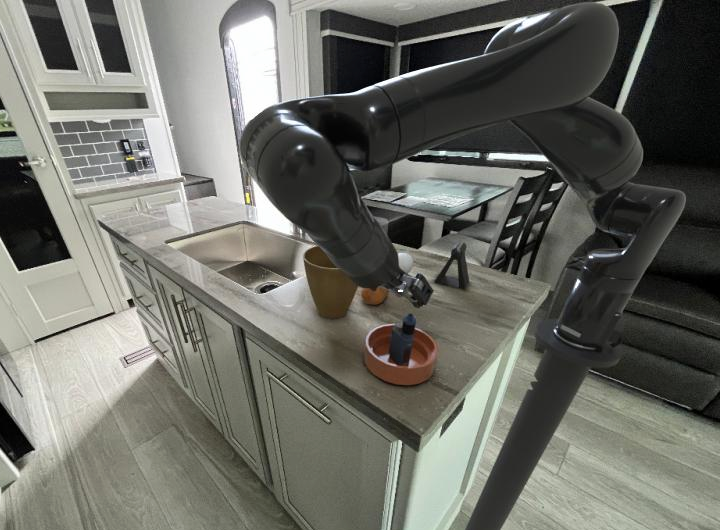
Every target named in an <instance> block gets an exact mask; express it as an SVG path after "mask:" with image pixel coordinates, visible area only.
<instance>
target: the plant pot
mask: <svg viewBox="0 0 720 530" xmlns="http://www.w3.org/2000/svg"><path fill="white" fill-rule="evenodd" d="M302 259H303V266H304V271H305V276H306V281H307V284H308V288H309V291H310V294H311V297H312V300H313V303H314V305H315V307H316V310H317V312H318V314H319V315H320V316H321V317H323V318H324V319H329V320H336V319H341V318H343V317H345V316H346V314H347V312H348V311H349V309H350V306H351V305H352V302H353V300H354V298H355V295H356V293H357V290H358V288H359V286H357V285H356V284H354V283H353V282H352V281H351V280H350V279H349V278H348V277H347V276H346V275H345V274H344V273H343V272H342V271H341V270H340V269H339V268H338V267H336V266H335V265H334V263H333V262H332V261H331V260H330V259H329V257H328V256H327V254H326V253H325V252H324V251H323V250H322V249H321V248H320V247H319V246H318V245H315V246H311V247H309V248H308V249H306V250H305V251H304V252H303V253H302Z"/></svg>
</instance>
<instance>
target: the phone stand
mask: <svg viewBox="0 0 720 530" xmlns="http://www.w3.org/2000/svg"><path fill="white" fill-rule="evenodd" d="M460 244H461V241H459V242H457V243H456V244H455V245H454V247H453V248H452V250H451V252H450V257H449V259H447V262H446V263H445V265H444V266H443V268H442V269H441V271H440V272H439V274H438V275H437V277H436V278H435V280H434V284H437V285H441V286H446V287H450V288H455V289H460V290H463V291H465V290H466V288H467V286H468V284H469V282H470V277H469V271H468V266H467V265H468V264H467V259H466V250H467V244H466V242H462V244H461V246H460ZM458 247H460V248H459V249H458ZM453 261H456V263H457V277H452V276H448V275H447V273H448V271H449V270H450V268H451V266H452V264H453Z"/></svg>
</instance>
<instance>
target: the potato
mask: <svg viewBox="0 0 720 530" xmlns="http://www.w3.org/2000/svg"><path fill="white" fill-rule="evenodd" d="M390 293H391V292H390V291H388V290H386V289H382V288H380V287H377V289H376V291H375V292H374V291H371V290H370V289H369V288H362V287H361V293H360V295H361V299H362V301H363V302H364V303H365V304H368V305H373V306H375V305H380V304H381V303H382V302H384V301H385V300H386V298H387V296H388V295H389V294H390Z"/></svg>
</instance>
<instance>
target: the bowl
mask: <svg viewBox="0 0 720 530" xmlns="http://www.w3.org/2000/svg"><path fill="white" fill-rule="evenodd" d="M394 326H395V323H386V324H382V325H379V326H376V327H373V328H372V329H371V330H370V331H369V332H368V333H367V334H366V337H365V339H364V351H363V354H364V355H363V358H364V359H363V361H364V363H365V366H366V367H367V369H368V370H369V371H370V372H371V373H372V374H373V375H374V376H376V377H377V378H379V379H381V380H382V381H384V382H387V383H390V384H394V385H398V386H399V385H400V386H413V385H418V384H421V383H423V382H426V381H427V380H429V379H430V378H431V377H432V376H433V374H434V373H435V370H436V365H437V361H438V357H439V352H440V350H439V349H440V348H439V346H438V343H437V342H436V340H435V339H434V338H433V337H432V336H431V335H430V334H428V333H427V332H425V331H424V330H422V329H420V328H417V327H415V331H414V339H413V345H412V350H411V356H410V361H409V365H408V366H399V365H397V364H396V363H395V362H394V361H393V360H392V359H391V358H390V356H389V355H390V354H389V348H390V340H391V333H392V329H393V327H394Z"/></svg>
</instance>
